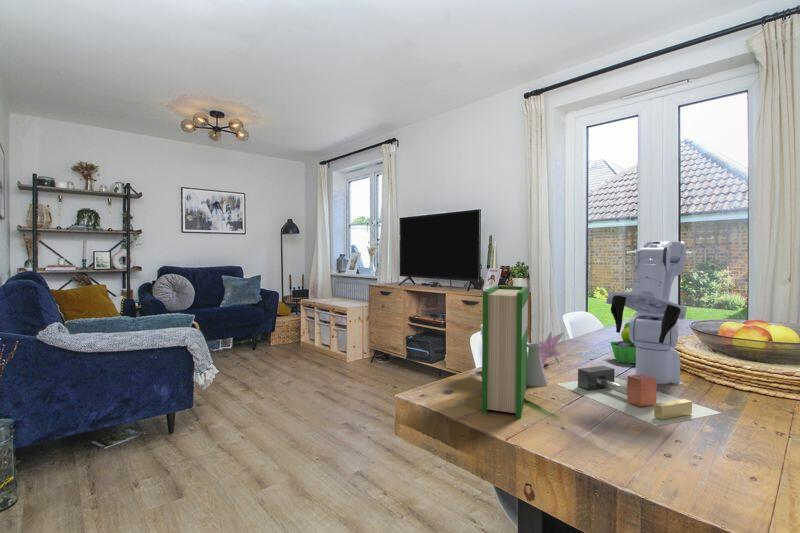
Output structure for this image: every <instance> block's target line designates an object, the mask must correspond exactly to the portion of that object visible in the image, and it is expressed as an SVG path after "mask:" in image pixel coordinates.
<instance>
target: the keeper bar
mask: <svg viewBox="0 0 800 533" xmlns="http://www.w3.org/2000/svg"><path fill="white" fill-rule="evenodd" d="M679 399H680V400H674V401H668V402H662V403H656V404H654V417H656V418H659V419H661V420H663V419H668V418H673V417H678V416H684V415H689V414H692V403H693V401H692V400H689V399H687V398H679Z"/></svg>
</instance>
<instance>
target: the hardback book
mask: <svg viewBox="0 0 800 533" xmlns="http://www.w3.org/2000/svg"><path fill="white" fill-rule="evenodd" d="M528 299H529V286H519V285H517V286H516V285H515V286H513V285H493V286H492V287H490V288H488V289H486V290H483V291H482V324H483V330H482V335H481V343H482V344H481V346H482V349H481V350H482V351H481V356H482V357H481V414H488V412H489V410H492V411H498V412H505V413H513V414H515V419H522V414H523V410H524V405H525V400H526V390H527V386H528V385H527V357H528V347H527V344H528V326H529V325H528V324H529V323H528V318H529V317H528V316H529V314H528V313H529V311H528V310H529V309H528V308H529V307H528V305H529V300H528Z"/></svg>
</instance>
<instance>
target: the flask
mask: <svg viewBox="0 0 800 533" xmlns="http://www.w3.org/2000/svg"><path fill="white" fill-rule="evenodd" d="M535 343H536V342H534V343H529V342H527V386H531V387H547V386H548V384H549V381H548V377H547V375H546V372H545V369H544V367H543V365H542V362H541V357H540V348H541V345H540V344H535Z"/></svg>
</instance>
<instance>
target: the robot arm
mask: <svg viewBox="0 0 800 533" xmlns="http://www.w3.org/2000/svg"><path fill="white" fill-rule="evenodd" d="M686 258H687V244H686V243H685V242H684V241H683V240H682V241H678V240H677V241H676V240H675V241H670V240H669V241H664V240H663V241H661V240H653V241H646V242H644V244H643V247H640V249H636V252H635V258H634V263H635V265H634V273H635V275H634V279H633V282H632V283H633V285H632V288H631V292H626V291H625V292H614V291H608V294H607V296H606V302H605V304H608V305H610V314H612V317H613V319H614V322H615V330H616V331H615V332H616V333H617V334H620V333H621V331H622V330H621V329H622V326H623V315H624V310H625V308H628V309H630V310H632V311H635V313H634V315H633V316H632V318H631V319H630V320H629V322H630V325H629V339H630V341H631V342H632V343H635V345H634V346H636V364H635V375H638V374H645V375H649V376H652V377H655V378H657V385H659V384H660V385H661V384H662V385H668V384H669V383H673V384H675V385H678V386H679V385H680V386H684V382H682V381H681V356H680V353H679V352H678V351H677V350H676V349H675V348H676V347H677V346H678V343H679V320H685V318H686V315H687V306H684V305H681V304H677V303H675V302H673V301H671V300H670V296H671V290H672V285H673V283H674V281H675V278H676V277H678V276H679V275H682V274H683V272H684V270H685V266H686V261H687V260H686Z"/></svg>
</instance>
